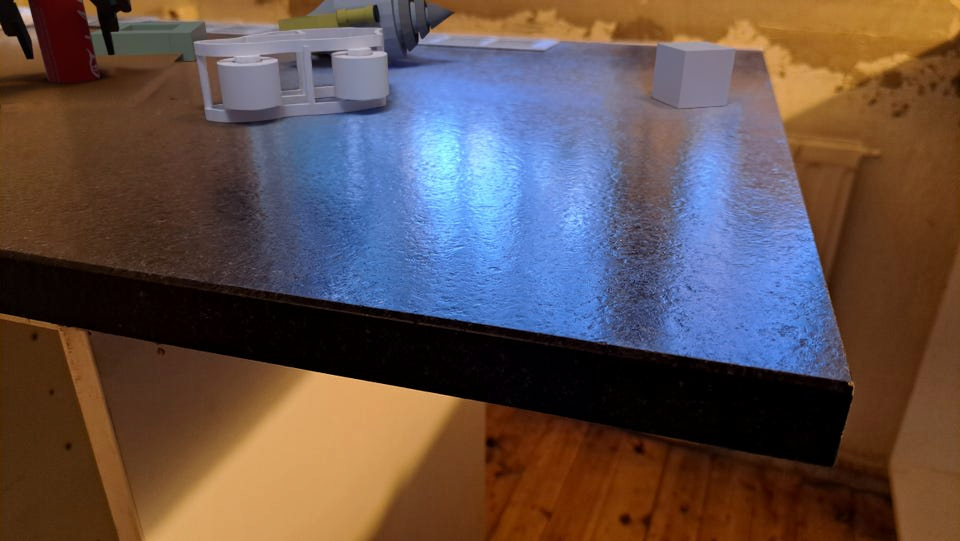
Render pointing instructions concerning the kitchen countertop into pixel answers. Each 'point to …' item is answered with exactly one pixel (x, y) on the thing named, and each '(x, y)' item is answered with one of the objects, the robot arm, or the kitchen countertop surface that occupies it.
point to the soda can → (64, 40)
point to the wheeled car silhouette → (257, 81)
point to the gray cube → (692, 74)
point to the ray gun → (375, 21)
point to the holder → (153, 39)
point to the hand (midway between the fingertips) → (70, 47)
